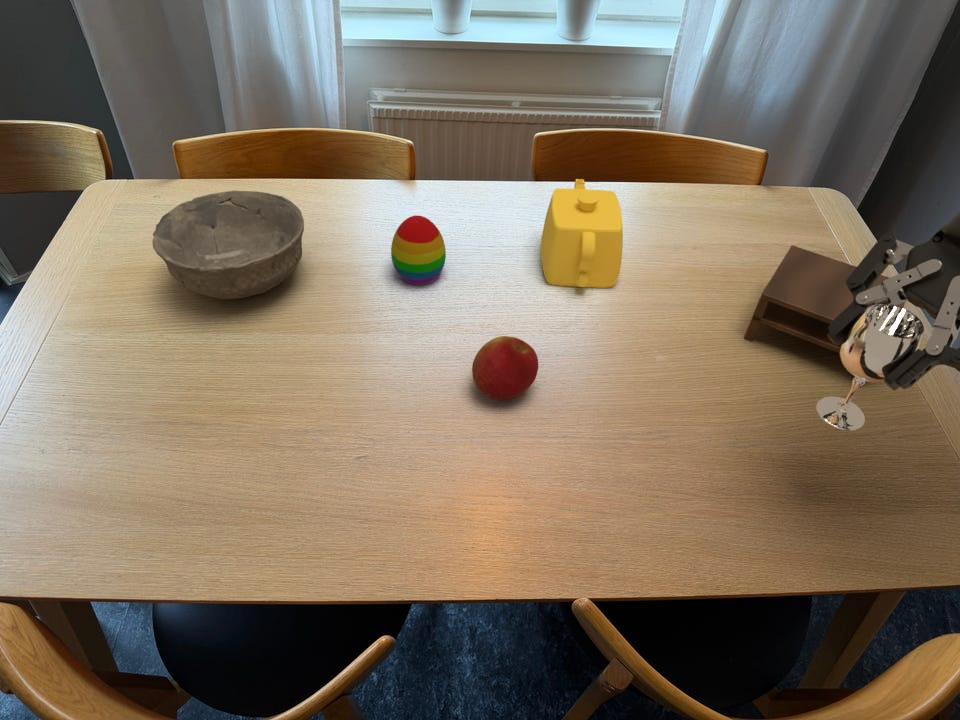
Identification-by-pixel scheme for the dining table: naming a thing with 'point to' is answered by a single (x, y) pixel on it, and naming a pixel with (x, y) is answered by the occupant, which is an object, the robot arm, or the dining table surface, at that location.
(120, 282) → the dining table surface
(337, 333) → the dining table surface
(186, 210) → the bowl
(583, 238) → the teapot
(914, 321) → the wineglass
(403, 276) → the decorative egg
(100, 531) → the dining table surface
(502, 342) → the apple
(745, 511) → the dining table surface
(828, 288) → the shelf
